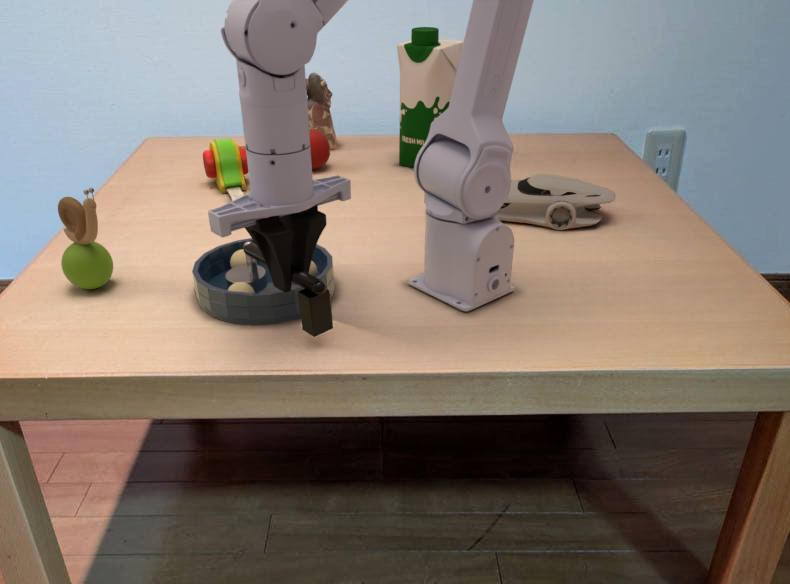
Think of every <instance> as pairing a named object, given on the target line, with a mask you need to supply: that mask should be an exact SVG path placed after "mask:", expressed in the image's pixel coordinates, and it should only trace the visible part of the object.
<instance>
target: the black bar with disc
mask: <svg viewBox="0 0 790 584" xmlns="http://www.w3.org/2000/svg"><path fill="white" fill-rule="evenodd" d="M243 249H244V253H245V255H246V261H247V265H241V266H237V267H234V268H232V269H230V270H229V271H228V272H227V273H226V275H225V278H226V283H227V288H228V289H229V287H230V286H231V285H232V284H234V283H236V282H245V283H247V284H249V285H250V286H251V287H252V288H253V289H254V292H255V293H257V292H260V291H262V290H264V289H265V288H266V287H267V284H268V282H267V276H266V270H265V269H264V268H263V267H262V266H259V265H257V263H256V261H258V262H260V263H262V264H263V265H265V266H267V265H266V262H265V260H264V258H263V256H262V254H261V252H260V250H259V249H258V247H257V245H256V244H254V243H252V242H251V241H247V242H245V243H244V248H243ZM290 268H291V280H292V281H293V282H295V283H297V284H298V285H300V286H302V287H304V288H305V289H303V290H300V291H298V300H299V307H300V315H301V318H300V321H301V329H302V331H304V333H306V334H308V335H310V336H311V337H313V338H316V337H319V336H320V335H322V334H325V333H326V332H329V331H330V330H333V329H334V323H333V313H332V311H333V310H332V304H331V299H330V292H329V290H328V289H326V284H325V283H324V282H323V281H321V280H320V279H318V278H316V277H314V276H312V275H310V274H309V273H307V272H305V271H303V270H301V269H300V268H298V267H296V266H294V265H292V264H290Z"/></svg>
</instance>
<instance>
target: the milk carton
mask: <svg viewBox="0 0 790 584" xmlns="http://www.w3.org/2000/svg"><path fill="white" fill-rule="evenodd" d="M439 33H440V29H439V28H438V27H434V26H433V27H432V26H417V27H413V28H411V36H410V37H411V39H410V40H406V41H404V42H401V43H398V44H396V49H397V50H396V51H397V57H398V58H397V59H398V67H399V139H398V140H399V141H398V144H399V150H398V166H403V167H409V168H413V169H414V164H415V160H416V157H417V155H418V153H419V151H420V149H421V148H422V146H423V145H424V143H425V142H426V140H427V137H428V135H429V131H430V127H431V123H432V122H433V121H434V120H435V119H436V118H437V117H438V116H440V115H441V114H442V113H443V112H444V111H445V110H447V108H448V107H449V104H450V99H451V95H452V91H453V86H454V82H455V78H456V73H457V69H458V65H459V60H460V56H461V51H462V47H463V43H464V40H456V39H445V38H439V37H440V36H439Z"/></svg>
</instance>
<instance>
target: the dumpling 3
mask: <svg viewBox="0 0 790 584" xmlns="http://www.w3.org/2000/svg"><path fill="white" fill-rule="evenodd" d="M317 273H318V271H317V267H316V265H315V263H314V262H313V261H312V260H311V265H310V269H309V274H310V275H312V276H314V277H317Z"/></svg>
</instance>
